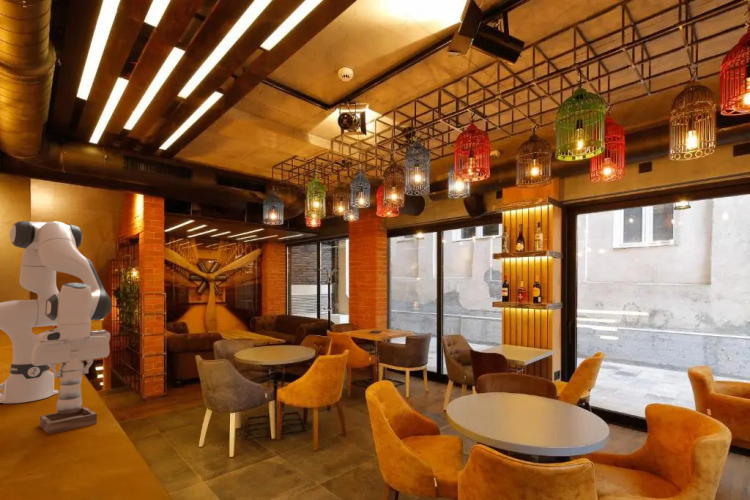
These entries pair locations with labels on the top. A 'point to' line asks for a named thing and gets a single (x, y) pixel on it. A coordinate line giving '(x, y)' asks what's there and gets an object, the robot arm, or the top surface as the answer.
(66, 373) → the silver metal bottle
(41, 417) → the walnut tray
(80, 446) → the top surface
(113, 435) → the top surface
